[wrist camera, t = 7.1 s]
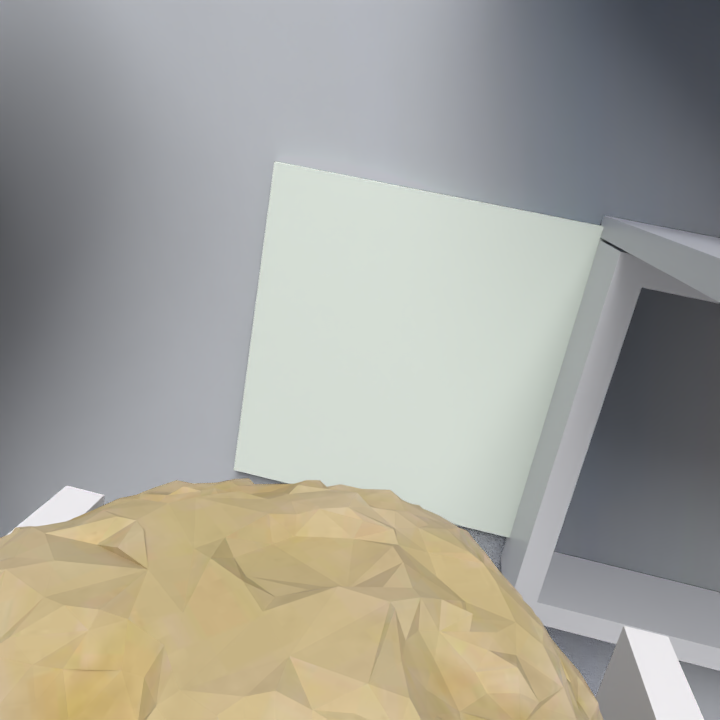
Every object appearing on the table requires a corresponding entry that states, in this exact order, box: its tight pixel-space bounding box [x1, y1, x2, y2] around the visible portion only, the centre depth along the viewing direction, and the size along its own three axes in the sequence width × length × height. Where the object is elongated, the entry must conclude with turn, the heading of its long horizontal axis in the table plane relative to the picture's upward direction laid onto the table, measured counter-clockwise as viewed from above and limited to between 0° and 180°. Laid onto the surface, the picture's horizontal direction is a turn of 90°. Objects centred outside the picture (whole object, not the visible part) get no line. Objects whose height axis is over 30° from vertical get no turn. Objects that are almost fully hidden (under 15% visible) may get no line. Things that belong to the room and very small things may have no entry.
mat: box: [234, 162, 608, 538], centre depth 27 cm, size 14×14×1 cm
